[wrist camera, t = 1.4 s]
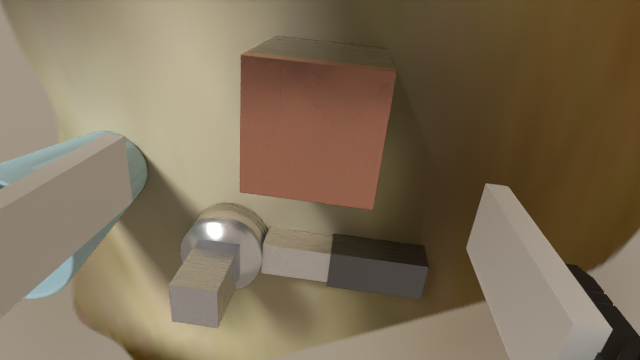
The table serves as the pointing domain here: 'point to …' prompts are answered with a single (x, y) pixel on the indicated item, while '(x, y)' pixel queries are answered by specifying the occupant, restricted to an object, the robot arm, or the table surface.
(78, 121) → the table surface
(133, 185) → the cup
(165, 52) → the table surface
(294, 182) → the red-topped grey block
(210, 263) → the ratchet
